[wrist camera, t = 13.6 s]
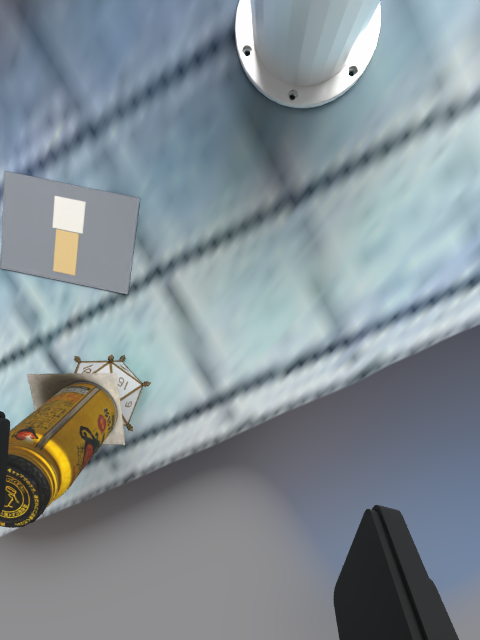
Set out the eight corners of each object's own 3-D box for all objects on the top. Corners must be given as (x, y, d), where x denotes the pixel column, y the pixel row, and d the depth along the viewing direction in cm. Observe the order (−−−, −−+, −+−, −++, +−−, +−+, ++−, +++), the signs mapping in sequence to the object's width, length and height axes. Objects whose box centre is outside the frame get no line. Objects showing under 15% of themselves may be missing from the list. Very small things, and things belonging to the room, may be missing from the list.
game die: (131, 382, 48) (91, 459, 42) (74, 341, 44) (21, 421, 38) (176, 368, 43) (138, 455, 37) (116, 321, 39) (62, 409, 33)
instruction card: (6, 171, 40) (3, 170, 39) (140, 198, 39) (139, 198, 39) (2, 267, 42) (0, 268, 42) (128, 293, 42) (127, 294, 41)
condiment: (126, 443, 37) (61, 543, 26) (41, 443, 38) (-60, 540, 26) (117, 372, 36) (43, 444, 24) (29, 372, 36) (-85, 443, 25)
